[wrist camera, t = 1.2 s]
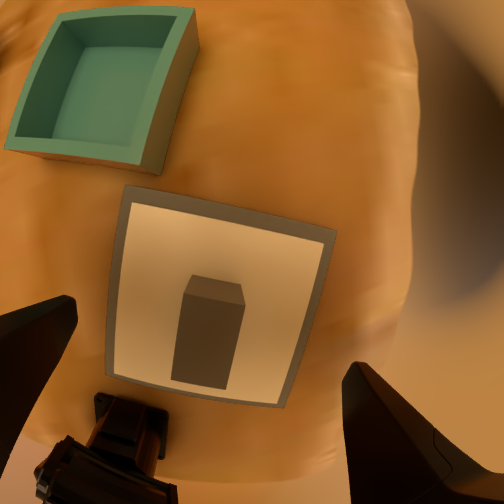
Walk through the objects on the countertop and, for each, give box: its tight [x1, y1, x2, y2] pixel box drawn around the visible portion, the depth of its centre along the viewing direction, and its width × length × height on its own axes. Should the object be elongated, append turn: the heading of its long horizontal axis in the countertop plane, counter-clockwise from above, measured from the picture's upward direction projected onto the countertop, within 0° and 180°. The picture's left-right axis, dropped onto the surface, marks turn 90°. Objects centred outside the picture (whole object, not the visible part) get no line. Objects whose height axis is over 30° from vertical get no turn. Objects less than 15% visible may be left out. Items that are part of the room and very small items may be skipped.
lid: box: [114, 202, 324, 404], centre depth 16 cm, size 12×12×5 cm
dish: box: [4, 6, 200, 176], centre depth 14 cm, size 10×10×5 cm
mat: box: [105, 185, 337, 408], centre depth 19 cm, size 14×14×1 cm
